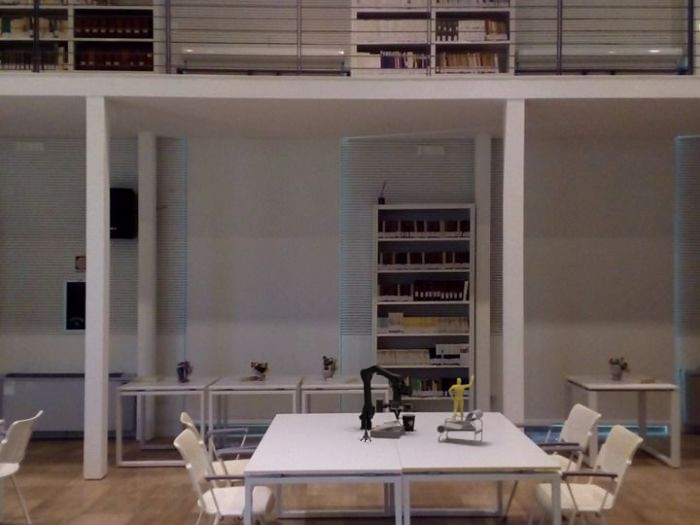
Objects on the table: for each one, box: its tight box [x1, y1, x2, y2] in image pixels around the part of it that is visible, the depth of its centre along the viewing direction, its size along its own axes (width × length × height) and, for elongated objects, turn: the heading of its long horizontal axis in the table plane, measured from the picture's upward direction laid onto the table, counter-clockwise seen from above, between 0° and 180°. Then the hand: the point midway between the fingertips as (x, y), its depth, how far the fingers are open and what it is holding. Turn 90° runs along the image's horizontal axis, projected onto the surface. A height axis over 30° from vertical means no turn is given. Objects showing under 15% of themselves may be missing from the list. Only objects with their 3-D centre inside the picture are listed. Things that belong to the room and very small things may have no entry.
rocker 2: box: [380, 422, 399, 426], centre depth 509 cm, size 10×4×1 cm, turn 77°
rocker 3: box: [379, 424, 397, 429], centre depth 502 cm, size 10×4×1 cm, turn 77°
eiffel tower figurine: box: [360, 422, 372, 443], centre depth 489 cm, size 15×10×13 cm
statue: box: [446, 375, 476, 432], centre depth 531 cm, size 20×19×36 cm
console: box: [369, 424, 406, 440], centre depth 509 cm, size 18×22×5 cm
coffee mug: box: [398, 413, 416, 432], centre depth 524 cm, size 12×9×10 cm
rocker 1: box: [382, 419, 400, 424], centre depth 515 cm, size 10×4×1 cm, turn 77°
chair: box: [436, 408, 484, 446], centre depth 486 cm, size 13×25×20 cm, turn 62°
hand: (397, 419), depth 515 cm, fingers closed
